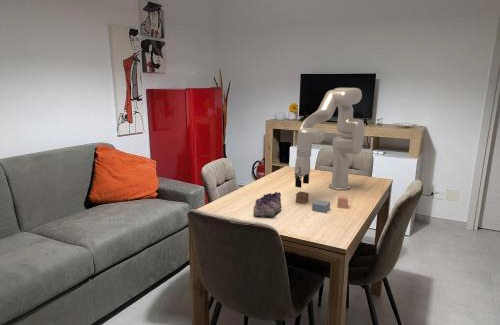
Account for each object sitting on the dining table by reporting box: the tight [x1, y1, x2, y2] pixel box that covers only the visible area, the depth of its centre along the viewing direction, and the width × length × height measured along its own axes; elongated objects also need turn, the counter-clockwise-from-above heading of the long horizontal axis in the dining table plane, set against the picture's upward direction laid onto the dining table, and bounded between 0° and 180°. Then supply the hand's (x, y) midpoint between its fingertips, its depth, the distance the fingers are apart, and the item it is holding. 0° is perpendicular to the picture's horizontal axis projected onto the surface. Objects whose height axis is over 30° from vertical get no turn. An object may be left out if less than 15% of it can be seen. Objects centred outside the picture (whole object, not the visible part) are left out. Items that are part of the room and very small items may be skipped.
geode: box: [252, 191, 282, 218], centre depth 175 cm, size 20×12×10 cm, turn 155°
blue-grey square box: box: [311, 199, 331, 214], centre depth 179 cm, size 7×7×4 cm
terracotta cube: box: [336, 195, 349, 210], centre depth 184 cm, size 5×5×5 cm
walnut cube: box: [295, 191, 310, 205], centre depth 190 cm, size 5×5×5 cm
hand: (302, 185), depth 188 cm, fingers open, 9 cm apart
